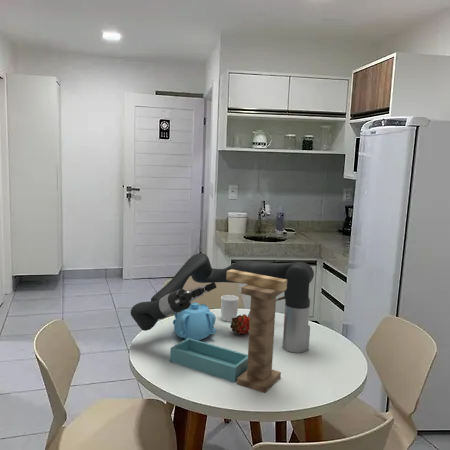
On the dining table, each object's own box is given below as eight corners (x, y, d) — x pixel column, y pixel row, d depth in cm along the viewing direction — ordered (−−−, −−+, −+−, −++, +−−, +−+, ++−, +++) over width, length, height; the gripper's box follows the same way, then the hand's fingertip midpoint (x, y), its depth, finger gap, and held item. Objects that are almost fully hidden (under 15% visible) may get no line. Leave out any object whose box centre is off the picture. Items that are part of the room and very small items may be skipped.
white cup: (218, 321, 198) (219, 299, 197) (221, 315, 206) (222, 294, 204) (236, 323, 197) (237, 301, 195) (238, 316, 205) (239, 295, 203)
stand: (236, 384, 144) (241, 287, 139) (253, 369, 154) (258, 279, 149) (264, 393, 139) (270, 293, 134) (280, 377, 149) (286, 284, 145)
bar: (226, 279, 147) (226, 271, 147) (230, 278, 150) (231, 269, 149) (282, 291, 137) (283, 281, 137) (286, 288, 140) (287, 279, 139)
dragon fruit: (233, 341, 181) (244, 335, 192) (250, 332, 178) (260, 327, 189) (223, 322, 183) (234, 317, 194) (240, 313, 180) (250, 308, 191)
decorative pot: (217, 343, 175) (219, 309, 173) (176, 345, 172) (177, 311, 170) (209, 327, 191) (211, 296, 189) (171, 329, 187) (172, 297, 185)
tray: (170, 361, 158) (170, 348, 157) (188, 350, 167) (188, 337, 166) (234, 382, 145) (235, 367, 144) (250, 369, 154) (251, 355, 154)
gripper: (190, 307, 166) (223, 292, 158) (166, 318, 154) (201, 303, 146) (182, 288, 167) (215, 273, 159) (158, 297, 155) (192, 282, 147)
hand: (208, 287), depth 153 cm, fingers open, 8 cm apart
